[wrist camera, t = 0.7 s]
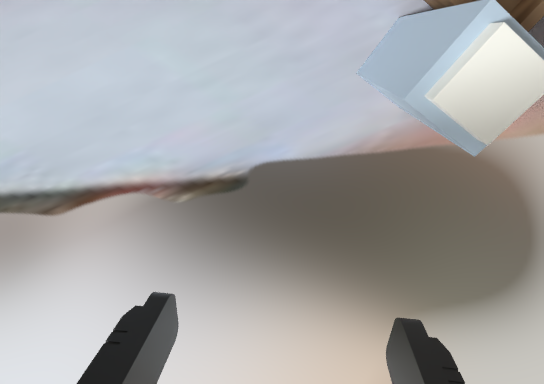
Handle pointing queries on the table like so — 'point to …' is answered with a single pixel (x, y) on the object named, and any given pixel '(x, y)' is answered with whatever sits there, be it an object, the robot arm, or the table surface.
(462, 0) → the crate
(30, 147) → the table surface
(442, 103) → the carton
